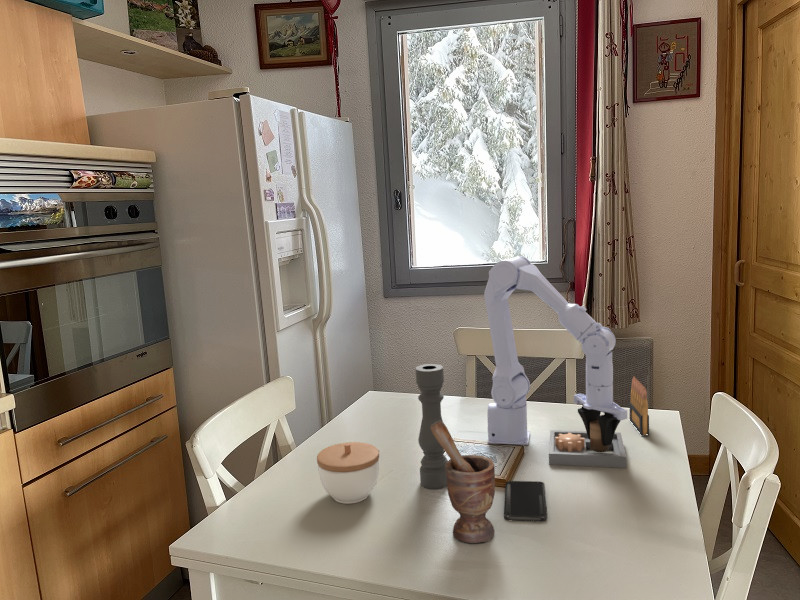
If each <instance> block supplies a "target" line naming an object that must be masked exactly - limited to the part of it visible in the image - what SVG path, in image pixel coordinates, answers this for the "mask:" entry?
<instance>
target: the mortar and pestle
mask: <svg viewBox="0 0 800 600" xmlns="http://www.w3.org/2000/svg"><path fill="white" fill-rule="evenodd" d="M430 429H431V431H432V433H433V435H434V437H435V438H436V440H437V441H438V442H439V444H440V445H441V446H442V448H443V449H444V452H445V453H446V455H447V456H448V457H449V458H450V459H448V461H447V463H446V464H445V470H446V478H447V487H446V488H447V495H448V497H449V500H450V501H449V502H450V503H451V504H450V505H451V507H452V508H453V509H454V510H455V511H456V513H457V512H458V514H459V517H458V518H457V519H456V520H455V523H453V528H452V535H453V537H455V539H457V540H458V541H460V542H463V543H467V544H478V543H484V542H485V543H486V542H490V541H491V540H492V539H493V537H494V535H495V528H494V525H493V523H492V522H491V520H490V519H488V517H486V514H487V513H488V511H490V509H491V507H492V506H493V502H494V497H495V494H496V493H495V492H496V476H495V475H496V471H495V463H494V461H493V460H492V459H491V458H489V457H487V456H483V455H476V454H468V455H467V454H466V455H462V454H461V452H460V451H459V449H458V447H457V446H456V443H455V441H454V439H453V436H452V435H451V433H450V431H449V429H448V427H447V426H446V424H445V423H444V421H443V422H442V421H441V420H439V421H437V422H435V423H434V424H432V425H431V426H430Z"/></svg>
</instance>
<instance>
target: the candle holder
mask: <svg viewBox="0 0 800 600" xmlns="http://www.w3.org/2000/svg"><path fill="white" fill-rule="evenodd" d="M444 377H445V376H444V366H443V365H441V364H438V363H437V364H436V363H424V364H420V365H417V366H416V367H415V382H416V383H415V384H416V385H417V388H418V389H419V391H420V394H419V395H418V396H417V399H418V401H419V402H420V403H421V411H422V412H421V413H422V414H421V415H422V418H421V423H420V428H419V434H418V441H417V442H418V446H419V447H420V449H421V450H422V451H423V452H422V454H423V456H422V458H421V460H420V467H419V475H420V477H419V480H420V485H421V487H423V488H425V489H427V490H442V489H444V488H447V478H446V470H445V464H446V463H447V461H449V459H447V457H446V456H445V450H444V449H443V448H442V446H441V445H440V444H439V442H438V441H437V440H436V438H435V437H434V435H433V433H432V431H431V429H430V426H431V425H432V424H434V423H435V422H437V421H439V420H441V421H442V422H443V423H444V420H443V417H442V405H441V404H442V401H443V399H444V397H445V396H444V394H443V393H441V390H442V388H443V386H444V382H445V378H444Z"/></svg>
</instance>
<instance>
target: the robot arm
mask: <svg viewBox="0 0 800 600" xmlns="http://www.w3.org/2000/svg"><path fill="white" fill-rule="evenodd" d="M488 276H489V277H488V280H487V282H486V287H485V289H484V292H483V294H484V295H483V297H484V298H483V299H484V303H485V309H486V315H487V320H488V321H487V322H488V326H489V331H490V332H489V333H490V338H491V344H492V349H493V356H494V362H495V369H494V371H493V375H492V376H491V379H492V387H491V392H490V395H491V398H492V400H493V402H489V403H488V405H487V438H488V440H487V443H488V444H491V445H492V444H493V445H494V444H496V445H519V446H520V445H521V446H523V445H524V446H527V445H529V443H530V436H531V435H530V434H531V431H529V430H528V411H527V410H528V409H527V408H528V407H527V406H528V405H527V404H528V403H527V395H528V394H529V393H530V390H531V383H530V380H529V378H528V377H527V375H526V373H525V368H524V366H523V365H522V364H521V363H520V362H519V358H518V351H517V346H516V340H515V339H516V338H515V334H514V328H513V322H512V315H511V308H510V303H509V297H510V296H511V295H512V293H514V291H515V290H522V291H523V290H524V291H531V292H532V293H534V294H535V295H536V296H537V297H538V298H539V299H540V300H541V301H543V303H544V304H546V305H548V307H550V309H551V310H552V311H554V312H555V313H556V314H557V317H558V318H557V319H558V323H559V324H560V325H561V326H562V327H564V329H565V330H567V332H568V333H570V335H571V336H572V337H574V339H576V341H578V343H580V344H581V345H580V346H581V351H582V352H583V354H584V355H585V394H584V393H577V394H573V403H574V404H575V405H576V404H577V405H578V404H580V405H582V406H581V408H578V409H577V413H578V415H579V416H580V418H581V420H582V422H583V426H584V427H585V431H586V432H587V435H588V439H590V422H591V421H594V420H598V422H599V425H600V429H601V439H602V445H603V446H608V445H611V444H612V440H613V437H614V433H615V432H616V430H617V428H618V426H619V425H620V423H621V421H623V420H624V421H625V420H628V410H627V409H625V408H623V407H622V406H620V405H619V404H617V403H616V402H614V364H613V349H614V348H615V346H616V343H617V340H616V336H615V334H614V333H613V332H612V330H611V328H609V327H606V326H603V325H602V323H600V322H596V320H595V319H594V318H592V316H591V315H590V314H588V312H586V311H587V308H586V307H585V306H584V305H581V306H580V305H579V304H578V303H570V302H568V301H567V300H566V298H564V297H563V295H562V294H561V293H560V292H559V291H558V290H557V289H556V288H555V286H553V284H552V283H550V281H549V280H548V279H547V278H546V277H545V276H544V275H543V274H542V273H541V272H540V270H539V268H538V267H537V266H536V265H535V264H533V263H531V262H530V260H529V259H528V258H527V257H525V256H522V255H516V256H513V257H511V258H507V259H502V260H499V261H497V262H496V263H495V264H494V265H493V266H492V267H491V269H489V271H488ZM602 413H603V414H602Z"/></svg>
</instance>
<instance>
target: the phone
mask: <svg viewBox="0 0 800 600" xmlns="http://www.w3.org/2000/svg"><path fill="white" fill-rule="evenodd" d="M506 482H507V483H506ZM506 482H505V487H504V489H505V490H504V506H503V518H504V520H506V521H509V520H512V521H513V522H514V521H515V522H536V523H537V522H538V523H540V522H541V523H542V522H546V521H547V520H548V517H547V516H548V513H547V512H548V509H547V507H548V506H547V501H546V499H547V498H546V488H545V487H546V485H545V483H544V482H542V481H533V480H532V481H529V480H507V481H506Z"/></svg>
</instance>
